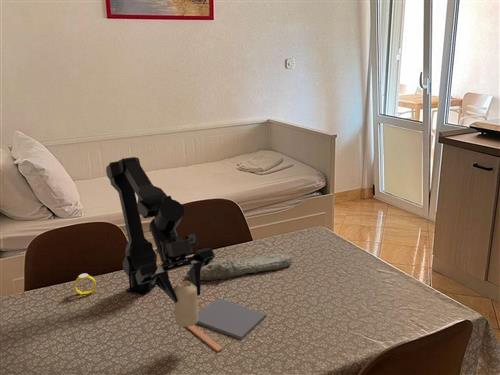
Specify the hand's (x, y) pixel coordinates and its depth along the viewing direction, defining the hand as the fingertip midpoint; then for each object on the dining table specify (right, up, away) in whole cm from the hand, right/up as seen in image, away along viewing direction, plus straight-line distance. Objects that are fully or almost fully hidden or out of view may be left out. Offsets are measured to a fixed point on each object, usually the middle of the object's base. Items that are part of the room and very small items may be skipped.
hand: (187, 298), depth 111 cm
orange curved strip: (+2, -11, +9) cm, 14 cm away
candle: (-1, -6, +3) cm, 7 cm away
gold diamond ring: (-34, -6, +30) cm, 46 cm away
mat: (+9, -9, +16) cm, 20 cm away
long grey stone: (+12, -1, +43) cm, 44 cm away
